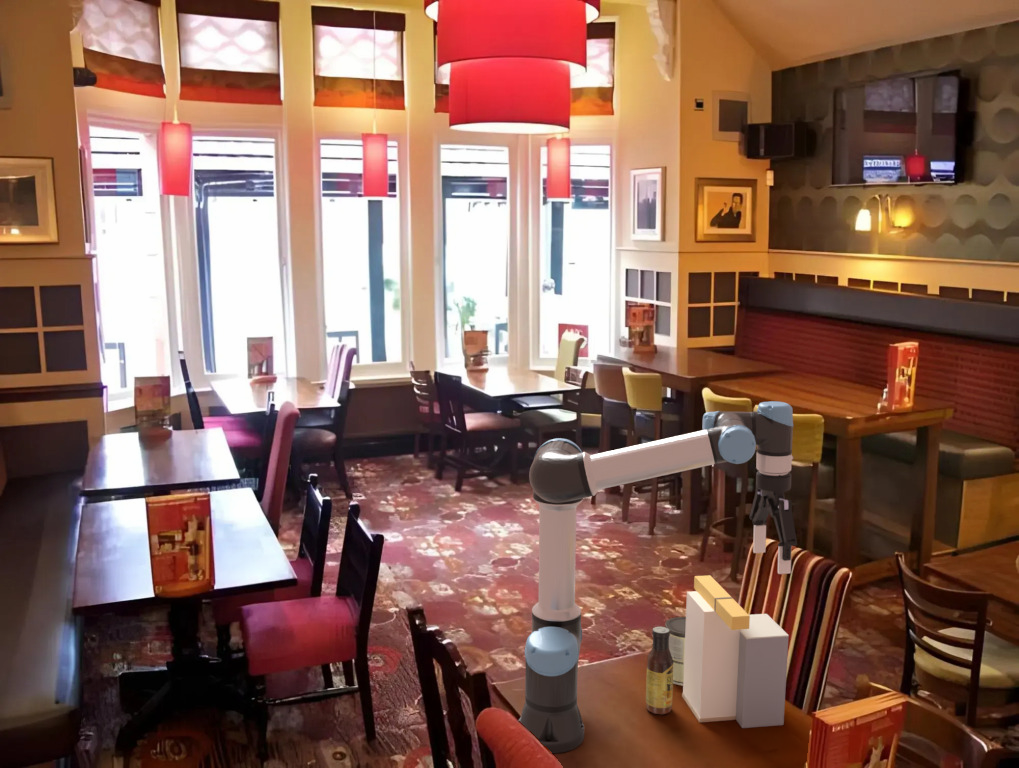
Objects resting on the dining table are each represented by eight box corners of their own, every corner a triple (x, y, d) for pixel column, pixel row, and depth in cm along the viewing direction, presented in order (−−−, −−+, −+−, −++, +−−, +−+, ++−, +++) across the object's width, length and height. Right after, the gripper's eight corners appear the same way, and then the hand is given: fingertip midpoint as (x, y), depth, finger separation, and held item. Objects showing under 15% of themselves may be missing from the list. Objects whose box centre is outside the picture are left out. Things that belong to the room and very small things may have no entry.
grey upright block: (783, 724, 213) (788, 635, 209) (742, 728, 211) (746, 637, 208) (762, 699, 224) (766, 613, 221) (722, 701, 223) (726, 616, 219)
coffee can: (675, 663, 243) (677, 613, 240) (711, 675, 236) (713, 623, 234) (656, 678, 235) (657, 626, 232) (692, 690, 228) (695, 637, 226)
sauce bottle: (671, 717, 216) (674, 637, 213) (644, 714, 217) (647, 635, 214) (672, 703, 222) (675, 625, 219) (646, 700, 224) (648, 623, 220)
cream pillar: (738, 719, 215) (743, 610, 211) (699, 722, 214) (703, 612, 209) (718, 693, 227) (723, 589, 223) (681, 696, 226) (685, 591, 221)
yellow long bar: (749, 628, 201) (750, 615, 200) (731, 629, 200) (731, 616, 200) (709, 587, 224) (710, 574, 224) (693, 587, 224) (694, 575, 223)
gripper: (815, 485, 194) (812, 581, 197) (767, 457, 218) (764, 543, 221) (781, 487, 193) (778, 583, 196) (736, 458, 217) (734, 545, 220)
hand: (771, 562), depth 209 cm, fingers open, 13 cm apart
